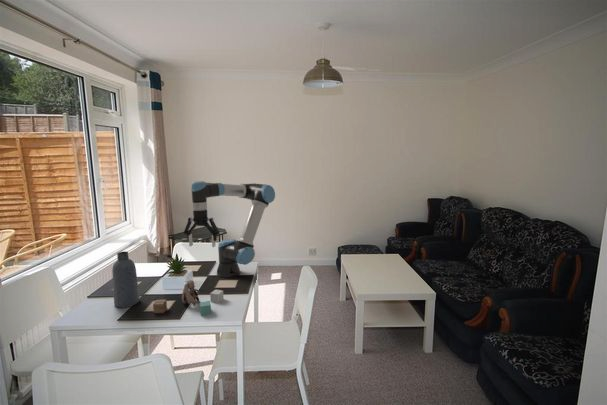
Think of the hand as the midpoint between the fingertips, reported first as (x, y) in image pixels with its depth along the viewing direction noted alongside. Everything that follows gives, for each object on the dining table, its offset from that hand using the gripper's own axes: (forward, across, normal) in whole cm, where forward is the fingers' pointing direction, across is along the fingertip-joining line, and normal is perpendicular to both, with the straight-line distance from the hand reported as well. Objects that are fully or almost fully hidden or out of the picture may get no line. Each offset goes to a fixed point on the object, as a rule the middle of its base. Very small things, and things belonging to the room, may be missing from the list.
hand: (202, 246), depth 185 cm
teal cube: (+28, +10, -22) cm, 37 cm away
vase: (+28, -37, -18) cm, 50 cm away
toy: (+28, -2, -14) cm, 31 cm away
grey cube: (+28, +10, -8) cm, 31 cm away
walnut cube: (+28, -14, -23) cm, 39 cm away
